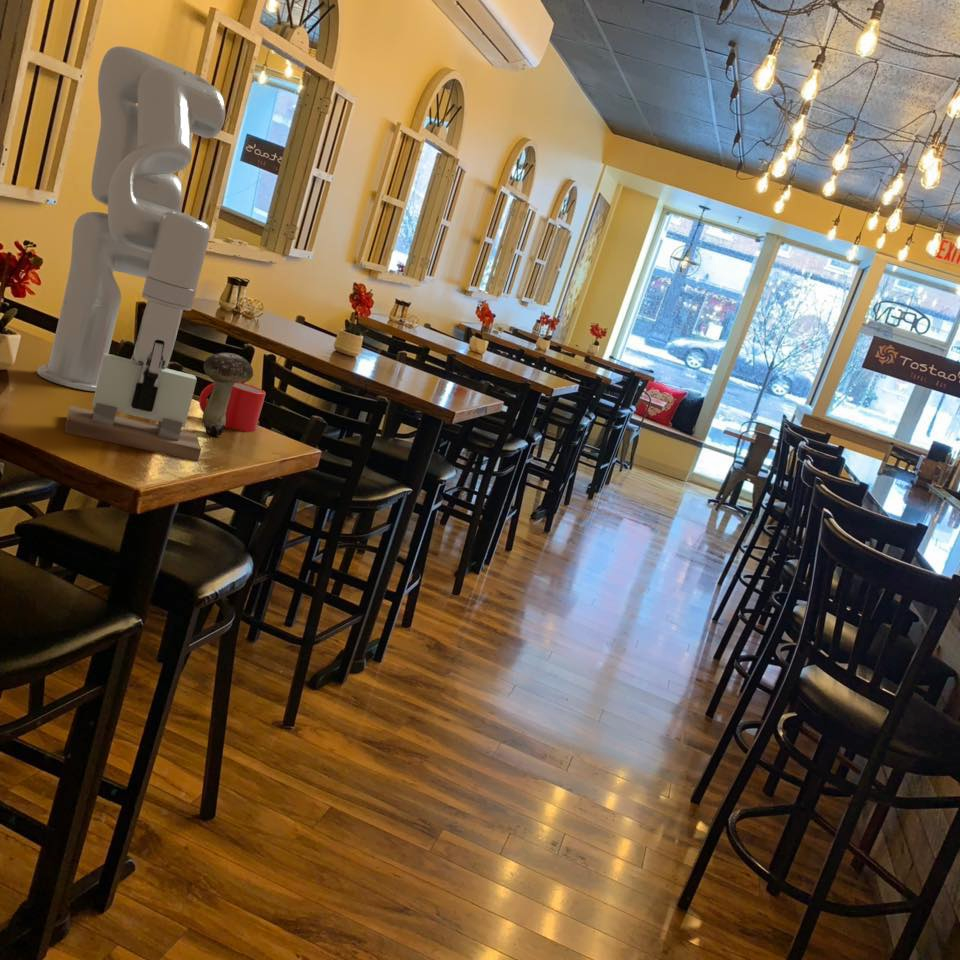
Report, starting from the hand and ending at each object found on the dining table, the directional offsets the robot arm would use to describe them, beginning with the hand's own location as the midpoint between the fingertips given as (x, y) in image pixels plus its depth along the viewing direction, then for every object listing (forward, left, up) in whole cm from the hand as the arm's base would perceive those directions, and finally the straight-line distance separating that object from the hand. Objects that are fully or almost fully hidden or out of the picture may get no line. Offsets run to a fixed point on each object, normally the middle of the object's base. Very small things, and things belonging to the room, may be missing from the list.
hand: (141, 405), depth 149 cm
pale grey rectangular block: (0, 0, -2) cm, 2 cm away
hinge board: (0, 0, -6) cm, 6 cm away
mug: (-28, +18, -6) cm, 34 cm away
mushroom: (-16, +14, -6) cm, 22 cm away
